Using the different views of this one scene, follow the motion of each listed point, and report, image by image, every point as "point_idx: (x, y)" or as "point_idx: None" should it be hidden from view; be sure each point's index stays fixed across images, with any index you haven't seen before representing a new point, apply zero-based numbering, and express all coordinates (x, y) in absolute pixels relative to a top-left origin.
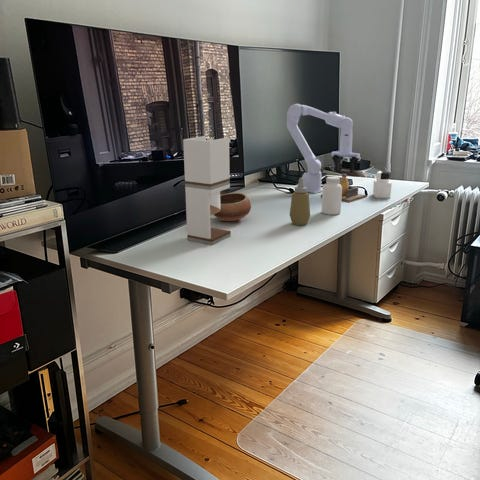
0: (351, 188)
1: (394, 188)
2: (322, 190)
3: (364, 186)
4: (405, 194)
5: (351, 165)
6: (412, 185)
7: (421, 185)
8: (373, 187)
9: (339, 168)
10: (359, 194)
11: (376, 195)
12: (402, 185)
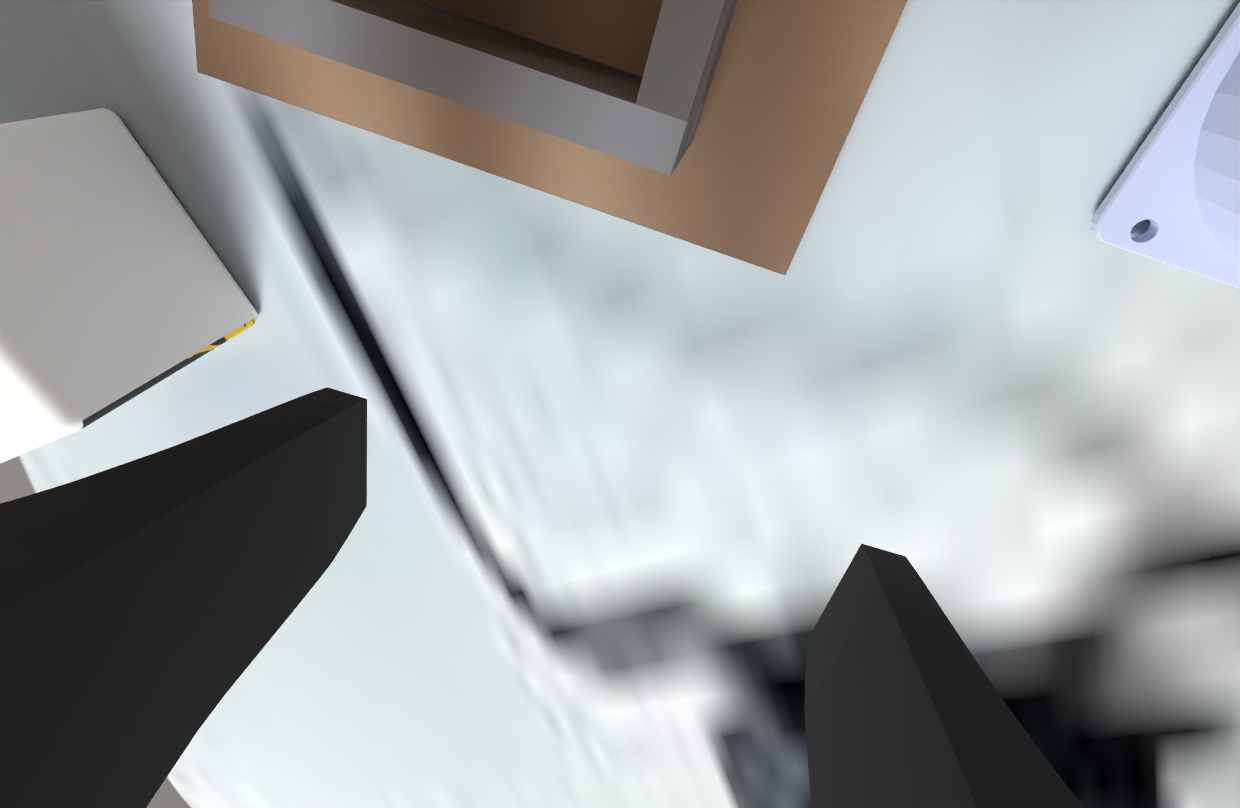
0: (379, 10)
1: (265, 661)
2: (1145, 167)
3: (552, 684)
4: (28, 455)
5: (54, 510)
6: (225, 773)
7: (179, 780)
8: (165, 344)
9: (820, 690)
10: (308, 66)
11: (66, 115)
12: (282, 765)
